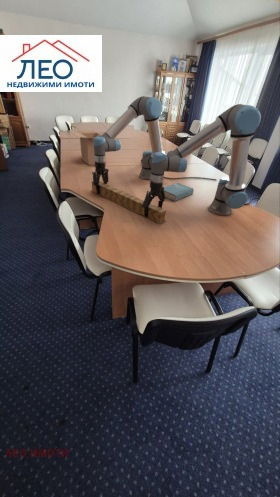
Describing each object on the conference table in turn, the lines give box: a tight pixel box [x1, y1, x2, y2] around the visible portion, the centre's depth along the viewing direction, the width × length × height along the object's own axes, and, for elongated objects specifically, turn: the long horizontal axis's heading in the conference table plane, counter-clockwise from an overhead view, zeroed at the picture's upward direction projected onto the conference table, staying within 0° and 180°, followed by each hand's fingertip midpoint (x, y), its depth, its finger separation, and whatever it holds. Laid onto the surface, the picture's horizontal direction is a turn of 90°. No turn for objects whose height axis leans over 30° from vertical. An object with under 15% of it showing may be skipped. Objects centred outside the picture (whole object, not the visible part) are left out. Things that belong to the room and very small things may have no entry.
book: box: [163, 182, 194, 202], centre depth 175 cm, size 23×16×5 cm
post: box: [91, 180, 167, 224], centre depth 154 cm, size 67×5×8 cm, turn 48°
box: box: [70, 129, 107, 166], centre depth 229 cm, size 44×36×27 cm
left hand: (101, 192), depth 169 cm, fingers closed on post, 5 cm apart
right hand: (152, 213), depth 141 cm, fingers open, 13 cm apart
